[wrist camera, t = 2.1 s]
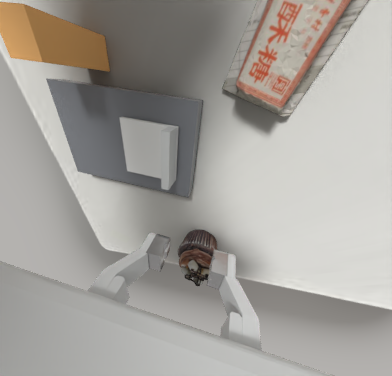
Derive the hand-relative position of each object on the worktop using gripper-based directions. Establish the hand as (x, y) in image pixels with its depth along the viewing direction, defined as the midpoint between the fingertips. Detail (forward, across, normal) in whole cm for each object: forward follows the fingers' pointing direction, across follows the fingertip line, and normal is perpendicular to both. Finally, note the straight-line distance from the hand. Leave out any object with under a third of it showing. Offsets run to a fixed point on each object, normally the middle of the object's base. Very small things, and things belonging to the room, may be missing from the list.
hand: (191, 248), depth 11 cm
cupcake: (+19, 0, +23) cm, 30 cm away
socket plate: (+19, +16, 0) cm, 25 cm away
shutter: (+16, +11, 0) cm, 19 cm away
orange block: (+19, +21, -12) cm, 31 cm away
